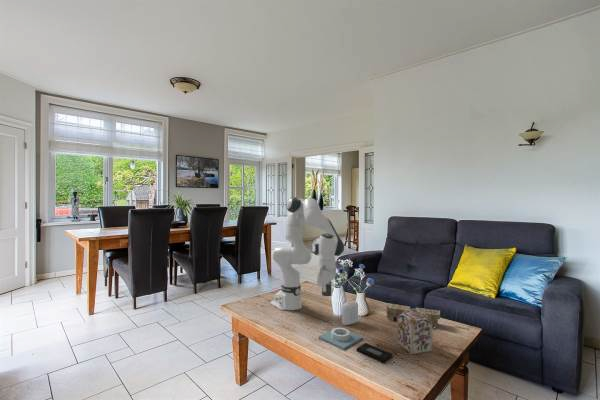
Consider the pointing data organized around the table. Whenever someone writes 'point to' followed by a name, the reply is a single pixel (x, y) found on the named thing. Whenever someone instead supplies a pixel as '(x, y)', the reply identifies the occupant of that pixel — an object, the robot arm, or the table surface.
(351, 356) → the table surface
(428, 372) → the table surface
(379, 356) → the vhs tape
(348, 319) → the photo printer
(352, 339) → the dock
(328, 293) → the dark grey block
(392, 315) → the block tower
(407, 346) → the decorative jar
